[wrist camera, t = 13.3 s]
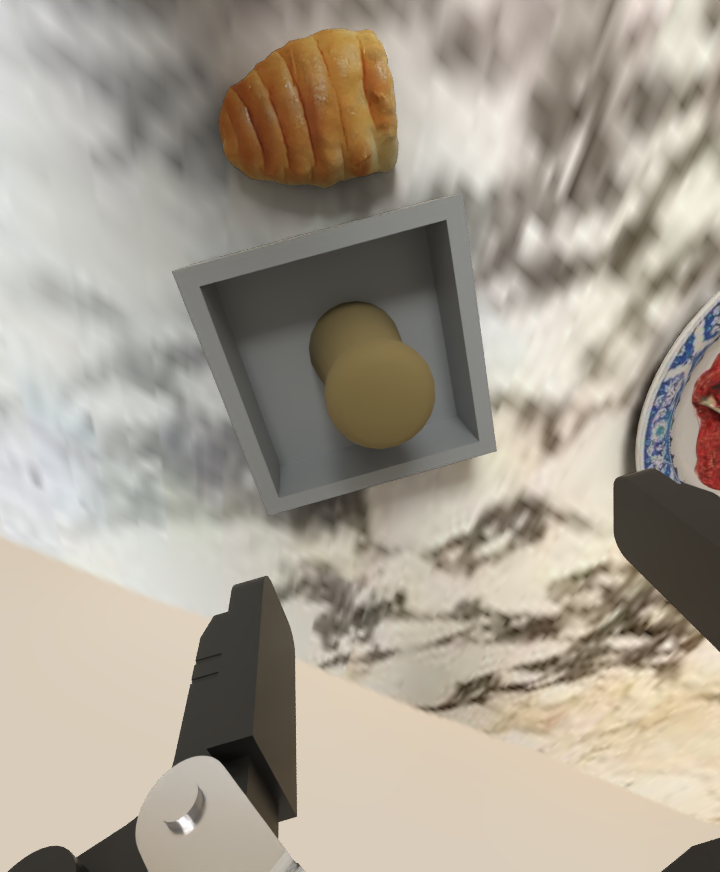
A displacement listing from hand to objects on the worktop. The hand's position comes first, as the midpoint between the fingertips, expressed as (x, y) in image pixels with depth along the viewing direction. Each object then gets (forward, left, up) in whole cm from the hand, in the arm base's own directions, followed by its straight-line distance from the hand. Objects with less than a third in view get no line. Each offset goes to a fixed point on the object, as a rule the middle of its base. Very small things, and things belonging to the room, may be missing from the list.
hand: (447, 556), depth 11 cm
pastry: (-12, +2, -23) cm, 26 cm away
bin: (+1, 0, -22) cm, 22 cm away
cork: (+1, +1, -22) cm, 22 cm away
